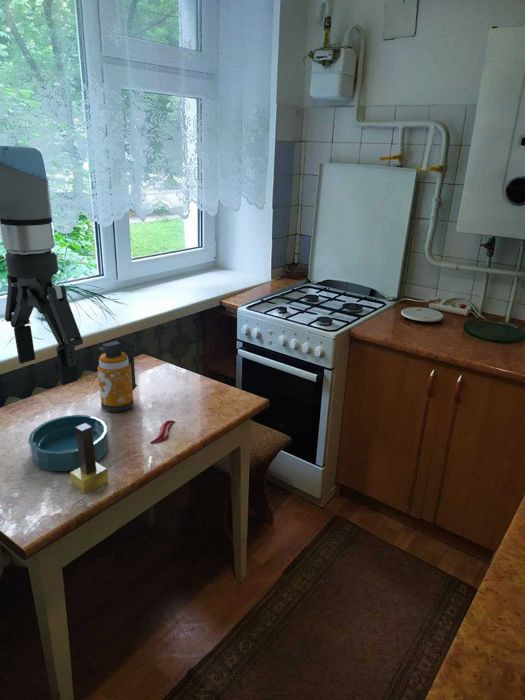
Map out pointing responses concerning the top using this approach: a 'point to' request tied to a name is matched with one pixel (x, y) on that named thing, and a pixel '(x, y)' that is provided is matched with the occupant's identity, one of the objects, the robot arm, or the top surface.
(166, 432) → the cayenne pepper
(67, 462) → the basin
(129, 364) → the canister
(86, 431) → the scrub brush
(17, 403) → the top surface
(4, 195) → the robot arm
